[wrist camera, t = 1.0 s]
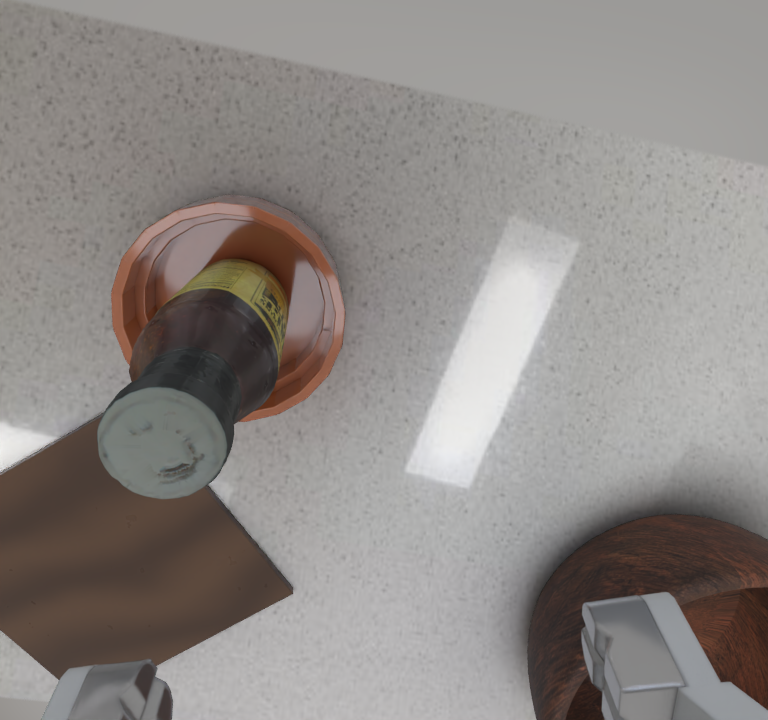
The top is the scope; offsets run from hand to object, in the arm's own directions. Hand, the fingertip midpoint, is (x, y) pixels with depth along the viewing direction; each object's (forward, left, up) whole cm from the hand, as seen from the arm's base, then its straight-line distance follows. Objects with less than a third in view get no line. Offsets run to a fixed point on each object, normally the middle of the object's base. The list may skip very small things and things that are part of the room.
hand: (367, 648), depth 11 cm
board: (+10, -25, -29) cm, 39 cm away
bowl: (-2, -5, -29) cm, 29 cm away
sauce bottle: (-2, -5, -28) cm, 29 cm away
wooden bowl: (+39, +9, -29) cm, 49 cm away
